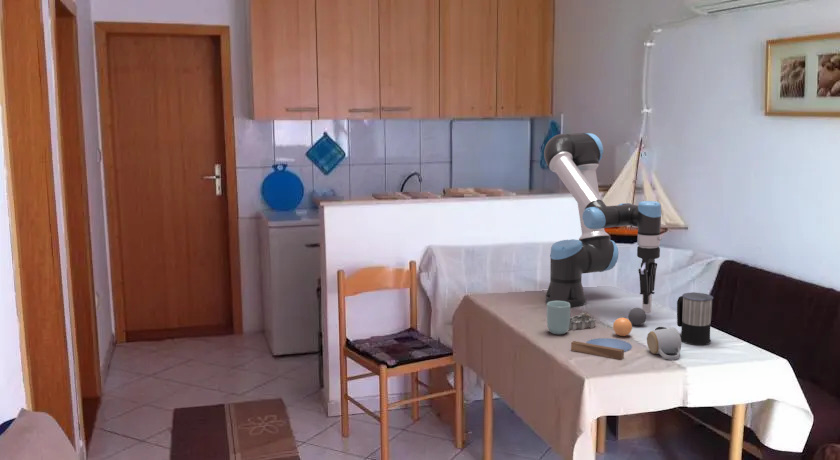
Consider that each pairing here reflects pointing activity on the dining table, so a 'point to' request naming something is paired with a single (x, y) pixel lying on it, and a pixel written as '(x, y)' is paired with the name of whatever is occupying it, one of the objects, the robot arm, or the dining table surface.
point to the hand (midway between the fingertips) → (646, 312)
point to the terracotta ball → (622, 326)
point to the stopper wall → (597, 350)
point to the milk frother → (694, 318)
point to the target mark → (611, 343)
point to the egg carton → (581, 321)
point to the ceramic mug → (664, 342)
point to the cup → (558, 316)
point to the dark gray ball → (637, 316)
